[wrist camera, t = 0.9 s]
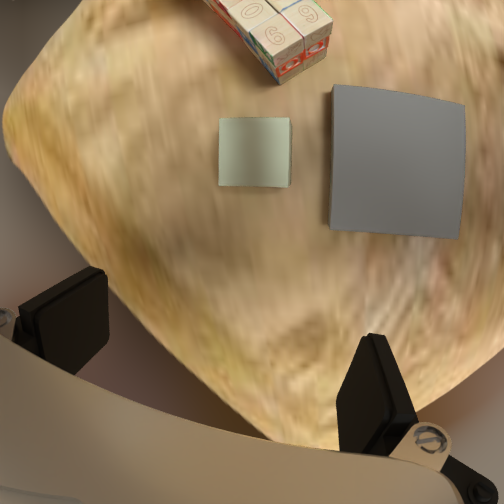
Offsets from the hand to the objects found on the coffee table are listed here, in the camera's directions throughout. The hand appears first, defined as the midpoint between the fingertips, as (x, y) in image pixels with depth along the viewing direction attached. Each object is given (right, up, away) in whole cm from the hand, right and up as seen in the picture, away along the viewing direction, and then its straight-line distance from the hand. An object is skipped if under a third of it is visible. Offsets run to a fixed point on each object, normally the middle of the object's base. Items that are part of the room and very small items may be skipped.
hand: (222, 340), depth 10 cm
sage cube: (+2, +13, +21) cm, 25 cm away
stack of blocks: (0, +30, +17) cm, 35 cm away
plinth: (+16, +12, +19) cm, 27 cm away
